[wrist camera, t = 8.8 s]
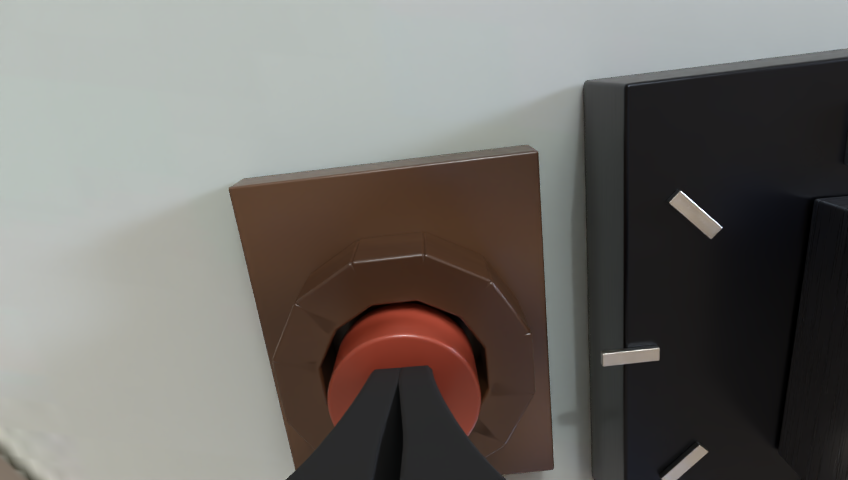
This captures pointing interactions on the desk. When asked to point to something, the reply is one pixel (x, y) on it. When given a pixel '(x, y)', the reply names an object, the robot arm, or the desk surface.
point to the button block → (406, 281)
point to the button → (407, 357)
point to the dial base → (703, 257)
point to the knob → (820, 353)
